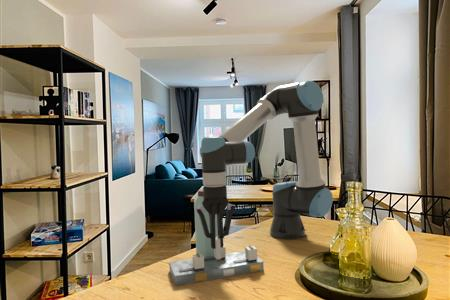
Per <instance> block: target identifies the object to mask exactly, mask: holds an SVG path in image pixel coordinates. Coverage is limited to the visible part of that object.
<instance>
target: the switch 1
mask: <svg viewBox="0 0 450 300" xmlns="http://www.w3.org/2000/svg"><path fill="white" fill-rule="evenodd" d="M191 255H192V259H193V267H194V268H195V269H200V268H204V256H203V255H202V254H198V253H196V254H191Z"/></svg>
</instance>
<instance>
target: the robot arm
mask: <svg viewBox="0 0 450 300" xmlns="http://www.w3.org/2000/svg"><path fill="white" fill-rule="evenodd" d="M323 104H324V93H323V90H322V88H321V86H320V85H319V84H317V82H315V81H313V80H302V81H298V82H293V83H288V84H282V85H279V86H277V87H275V88H273V89H272V90H270V91H269V92H267V93H266V94H265V95H263V96H262V97H261V98H260V99H259V100H257V102H256V105H255V106H254V107H253V108H251V109H250V110H249V111H248V112H246V113H245V114H244V115H243V116H242V117H240V118H239V119H238V120H236V122H234V123H233V124H232V125H231V126H229V127H228V128H227V129H226V130H225V131H223V132H222V133H221V134H219V135H218V136H209V137H208V136H206V137H203V138H202V139H201V145H200V148H199V156H200V158H201V170H202V185H203V187H202V189H203V202H202V205H201V206H200V207H199V208H196V212H197V213H198V214H199V217H200V220H201V224H202V227H203V231H204V234H205V236H206V237H207V238H211V247H212V249H214V257H215V258H216V259H221V248H222V247H223V245H224V238H225V237H226V236H228V235H230V229H231V223H232V220H233V219H232V217H233V213H234V211H235V209H236V206H235V205H234V204H233V203H230V201H229V199H228V193H227V186H226V184H227V169H226V167H227V166H229V165H241V164H243V165H245V164H247V163H251V162H253V160H254V158H255V156H256V152H255V151H256V148H255V147H254V144H253V143H251V142H250V141H245V140H246V139H248V138H249V137H250V136H251V135H252V134H253V133H254V132H255V131H257V130H258V129H259V128H260V127H262V125H264V124H265V123H266V122H267V121H269V120H273V119H274V118H275V117H278V116H280V115H284V114H288V115H287V116H288V119H289V120H291V121H292V126H293V133H294V134H293V135H294V146H295V152H296V153H295V155H296V163H297V172H298V173H297V175H298V180H294V181H282V182H278V183H274V184H273V187H272V193H271V194H272V206H273V207H272V208H273V217H272V223H271V225H270V228H269V234H270V236H271V237H274V238H277V239H282V240H283V239H285V240H294V239H299V238H303V237H305V235H306V227H305V226H304V223H303V220H302V217H301V215H306V216H309V217H312V218H314V217H315V218H316V217H318V218H322V217H325V216H326V215H327V214H328V213H329V212H330V210H331V208H332V205H333V200H334V197H333V193H332V191H331V190H330V189H329V188H327V187H326V182H325V180H323V179H322V177H321V169H320V158H319V147H318V138H317V137H318V136H317V127H316V119H317V117H318V116H319V110H320V109H322V108H323ZM204 208H205V209H206V211H207V212H208V213H209V221H210V233H209V230H208V226H207V223H206V219H205V216H204V214H203V213H204ZM225 210H226V214H225V218H224V211H225ZM215 214H217V229H218V237H216V233H215ZM223 219H224V220H223Z"/></svg>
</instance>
